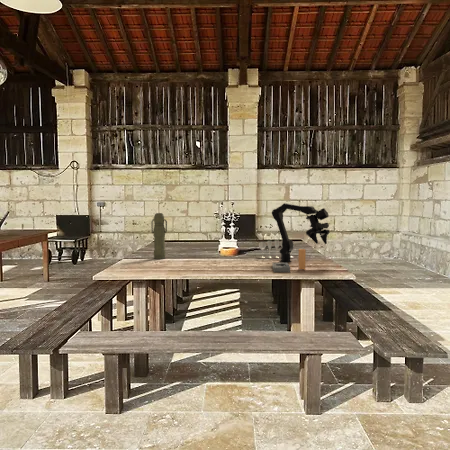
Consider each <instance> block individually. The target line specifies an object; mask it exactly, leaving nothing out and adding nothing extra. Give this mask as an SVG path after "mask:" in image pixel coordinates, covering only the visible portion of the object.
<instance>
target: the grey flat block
mask: <svg viewBox="0 0 450 450" xmlns="http://www.w3.org/2000/svg"><path fill="white" fill-rule="evenodd" d="M271 264H272V266H271V267H272V270H273V273H291V266H290V265H289V263H288V262H281V261H279V262H272V263H271Z"/></svg>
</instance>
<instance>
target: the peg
mask: <svg viewBox="0 0 450 450" xmlns="http://www.w3.org/2000/svg"><path fill="white" fill-rule="evenodd" d="M306 256H307V255H306V248H298V256H297V257H298V258H297V259H298V262H297V263H298V265H297V266H298V270H299V269H304V271H305V270H306Z"/></svg>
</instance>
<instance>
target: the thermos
mask: <svg viewBox="0 0 450 450" xmlns="http://www.w3.org/2000/svg"><path fill="white" fill-rule="evenodd" d="M153 221H154V223H153ZM150 223H151V233H152V234H153V239H154V240H153V241H154V243H153V244H154V250H153V259H154V260H165V259H166V249H165V248H166V246H165V244H166V243H165V242H166V241H165V237H166V234H167V232H168V221H167V219H165V216H164V213H162V212H161V213H160V212H158V213H157V212H156V213H155V214H154V217H153V219H151V221H150Z"/></svg>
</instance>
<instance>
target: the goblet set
mask: <svg viewBox="0 0 450 450" xmlns="http://www.w3.org/2000/svg"><path fill="white" fill-rule="evenodd" d="M293 244H294V245H293V246H294V247H295V241H293ZM272 245H273V241H272V240H267V243H266V241H260V242H259V243H258V247H259V249H260V250H261V256H259V258H260V259H262V258H263V259H264V258H266V257H265V256H264V255H263V254H264V251H265V249H266V248H268V250H269V251H268V253H269V256H267V259H268V258H270V259H271V258H272V257H273V256H271V248H272V247H273V246H272ZM280 246H281V249H282V248H283V247H282V240H279V239H278V240H277V239H276V240H275V239H274V247H275V251H276V252H278V250H279V247H280ZM292 253H293V250H292V251H291V253H290V258H293V256H292ZM275 258H276V259H277V258H278V259H279V256H275Z"/></svg>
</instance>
